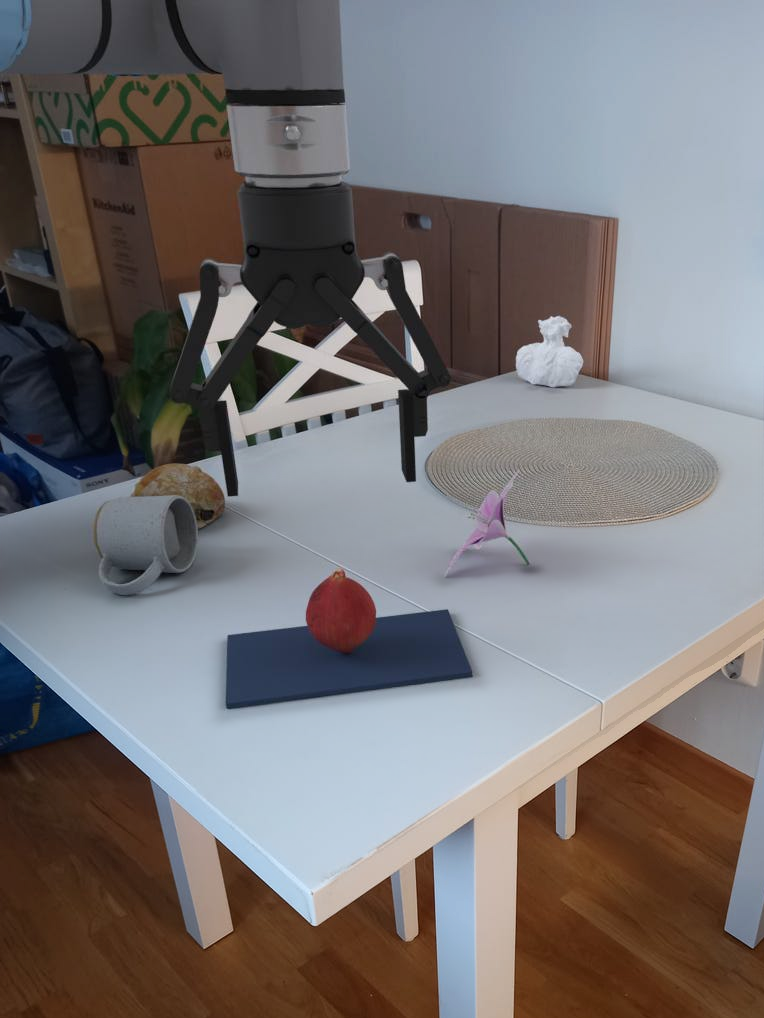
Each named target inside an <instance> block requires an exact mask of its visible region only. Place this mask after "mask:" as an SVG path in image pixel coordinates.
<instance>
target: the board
mask: <svg viewBox="0 0 764 1018" xmlns="http://www.w3.org/2000/svg"><path fill="white" fill-rule="evenodd" d="M226 641H227V642H226V647H227V648H226V673H225V675H226V676H225V708H226V709H234V708H242V707H243V708H244V707H249V706H257V705H258V706H259V705H266V704H272V703H280V702H287V701H289V702H290V701H296V700H303V699H310V698H318V697H327V696H333V695H341V694H348V693H356V692H357V693H358V692H363V691H373V690H378V689H379V690H380V689H386V688H394V687H401V686H402V687H403V686H410V685H417V684H425V683H432V682H441V681H447V680H456V679H464V678H469V677H473V672H474V671H473V668H472V666H471V664H470V662H469V659H468V657H467V655H466V652H465V649H464V647H463V643H462V642H461V639H460V636H459V634H458V631H457V629H456V627H455V624H454V622H453V619H452V615H451V614H450V610H449V609H448V608H445V609H439V610H438V609H437V610H429V611H420V612H412V613H411V612H410V613H403V614H395V615H387V616H386V615H385V616H379V617H378V616H376V622H375V627H374V629H373V632H372V634H371V635H370V636H369V637H368V638H367V639H366V640H365V641H364V642H363V643H362V644H361V645H359V646H358V647H356V648H355V649H354V650H353V651H352V652H351V653H348V654H343V653H340V652H338V651H335V650H333V649H330V648H328V647H325V646H324V645H322V644H320V643H319V642H318V641H317V640H316V639H315V638H314V637H313V636H312V634H311V632H310V631H309V629H308V626H307V625H301V626H293V627H292V626H291V627H283V628H275V629H268V630H267V629H266V630H259V631H252V632H251V631H249V632H244V633H243V632H241V633H234V634H227V639H226Z"/></svg>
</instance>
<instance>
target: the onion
mask: <svg viewBox="0 0 764 1018" xmlns="http://www.w3.org/2000/svg"><path fill="white" fill-rule="evenodd" d="M310 594H311V595H310V596H309V599H308V602H307V606H306V610H305V622H306V626H308V629H309V631H310V632H311V634H312V636H313V637H314V638H315V639H316V640H317V641H318V642H319V643H320V644H322V645H324V646H325V647H328V648H330V649H333V650H335V651H338V652H340V653H343V654H348V653H351V652H352V651H353V650H354V649H355V648H356V647H358V646H359V645H361V644H362V643H363V642H364V641H365V640H366V639H367V638H368V637H369V636H370V635H371V634H372V632H373V629H374V627H375V622H376V618H377V608H376V605H375V602H374V600H373V598H372V595H370V593H369V592H368V591H367V589H366V588H365V587H364V586H363V585H362V584H361V583H359V582H357V581H355V580H354V579H353V578H350V577H348V576H347V575H346V571H345V570H344V568H336V569H335V570H334V571H333V572H332V574H331V575H329V576H328V577H327V578H325V579H324V580H323V581H321V582H320V583H319V584H318V585H317V586H316V587H315V588H314V590H313V591H312V593H310Z"/></svg>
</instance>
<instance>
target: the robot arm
mask: <svg viewBox="0 0 764 1018" xmlns="http://www.w3.org/2000/svg"><path fill="white" fill-rule="evenodd" d="M340 4H341V3H340V0H0V75H54V74H55V75H61V74H63V75H109V76H113V77H132V78H141V77H145V76H148V75H149V76H151V75H152V76H153V75H155V76H156V75H157V76H159V75H161V76H165V75H167V76H169V75H170V76H171V75H192V74H194V75H195V74H198V75H199V74H210V75H221V76H222V82H223V83H222V84H223V88H224V90H225V92H224V93H225V100H226V102H225V103H226V112H227V120H228V129H229V135H230V143H231V150H232V157H233V167H234V171H235V173H236V174H237V175H239V176H241V177H244V180H243V183H242V184H240V186H239V189H237V191H236V192H237V193H236V194H237V201H238V209H239V219H240V225H241V233H242V243H243V250H244V251H243V252H244V255H243V259H242V262H241V263H240V264H236V263H227V262H226V263H225V262H218V261H217V260H216V259H214V258H212V257H211V258H210V257H207V258H204V259H203V260H202V262H201V264H200V269H199V289H200V291H199V295H200V297H199V300H198V303H197V306H196V309H195V312H194V313H193V319H192V320H191V322H190V323H191V324H190V327H189V329H188V332H187V335H186V339H185V341H184V345H183V347H182V351H181V354H180V356H179V360H178V362H177V365H176V369H175V371H174V375H173V377H172V381H171V384H170V388H169V391H168V392H169V393H168V396H169V399H170V400H171V401H172V403H175V404H179V405H180V404H185V405H189V406H192V407H194V408H195V409H196V411H197V412H198V414H199V421H200V426H201V427H200V428H201V434H202V439H203V446H204V447H205V449H206V451H207V453H210V452H220V454H221V461H222V467H223V475H224V482H225V489H226V495H227V497H239V479H238V471H237V465H236V458H235V453H234V452H235V450H234V444H233V437H232V431H231V423H230V415H229V410H228V402H227V400H226V399H225V400H220V399H221V397H222V396H223V394H224V392H225V391H226V390H227V388H228V387H229V385H230V384H231V383H232V381H233V379H234V378H235V377H236V375H237V374H238V372H239V371H240V369H241V368H242V367H243V365H244V364H245V362H246V360H248V358H249V356H250V355H251V353H252V352H253V351H254V349H255V348H256V347H257V345H258V343H259V342H260V340H261V339H262V338H263V337H265V335H266V334H267V332H268V331H269V330H270V328H271V327H272V325H273V324H274V323H276V324H277V325H278V326H282V327H284V328H285V329H286V330H292V329H293V330H294V329H295V330H296V329H299V328H303V327H306V326H312V327H317V328H331V326H332V325H334V324H335V323H337V322H338V321H339V320H340V319H342V321H344V323H346V325H347V326H348V327H349V328H350V329H351V331H353V332H354V333H355V334H356V335H357V336H358V337H359V338H360V339H361V340H362V341H363V342H364V343H365V344H366V346H368V348H370V349H371V350H372V352H373V353H374V355H376V356H377V357H378V358H379V360H381V361H382V363H383V364H384V365H385V366H386V367H387V368H388V369H389V370H390V372H392V373H393V375H394V376H396V378H397V379H398V380H400V382H401V383H402V384H403V385H404V386H405V387H406V389H404V388H403V389H397V397H398V398H397V399H398V400H397V401H398V418H399V436H400V437H399V442H400V458H401V459H400V462H401V463H400V464H401V466H400V467H401V472H402V475H403V477H404V480H405V482H406V483H415V482H417V471H416V470H417V469H416V447H415V446H416V445H415V444H416V443H415V442H416V441H415V438H420V437H426V436H427V433H428V431H429V425H428V424H429V423H428V421H429V420H428V419H429V418H428V397H429V396H430V393H431V392H432V391H434V390H436V389H438V388H446V387H448V386H449V385H450V383H452V382H451V381H452V376H451V374H450V372H449V369H448V368H447V366H446V364H445V363H444V360H443V358H442V356H441V355H440V352H439V351H438V349H437V347H436V345H435V343H434V341H433V339H432V337H431V335H430V334H429V331H428V329H427V328H426V326H425V323H424V322H423V320H422V318H421V316H420V314H419V312H418V310H417V308H416V306H415V304H414V303H413V301H412V299H411V297H410V295H409V293H408V291H407V287H406V286H407V285H406V280H405V273H404V266H403V263H402V261H401V259H400V258H399V257H398V256H397V255H396V253H394V252H393V251H387V252H384V253H383V254H382V255H381V256H380V257H373V258H368V259H361V258H360V257H359V254H358V251H357V247H356V246H357V245H356V233H355V218H354V217H355V216H354V199H353V189H352V187H350V185H349V184H348V183H347V182H345V181H343V176H344V175H347V174H348V173H349V171H350V170H351V160H350V159H351V158H350V143H349V129H348V116H347V115H348V114H347V104H346V94H345V88H344V85H345V84H344V67H343V49H342V48H343V47H342V45H343V44H342V29H341V27H342V26H341V11H340V10H341V9H340V7H341V6H340ZM365 278H369V279H371V280H372V281H373V283H374V285H375V286H376V288H377V289H378V290H380V291H386V293H387V295H388V297H389V299H390V301H391V303H392V305H393V306H394V308H395V311H396V312H397V314H398V316H399V318H400V319H401V322H402V323H403V326H404V327H405V329H406V331H407V333H408V335H409V336H410V338H411V340H412V342H413V344H414V346H415V348H416V350H417V351H418V353H419V355H420V357H421V359H422V361H423V363H424V365H425V367H426V369H424V370H421V371H419V372H418V371H417V370H416V368H415V367H414V366H413V365H412V364H411V363H410V362H409V360H408V359H406V357H404V355H403V354H402V353H401V352H400V351H399V350H398V349H397V347H396V346H395V345H394V344H393V343H392V342H391V341H390V340H389V339H388V338H387V337H386V336H385V334H384V333H383V332H382V331H381V330H380V329H379V327H378V326H377V325H376V324H375V323H374V322H373V321H372V320H371V319H370V318H369V317H368V315H366V314H365V312H364V311H363V310H362V308H361V307H360V306H358V304H357V303H356V302H355V301H354V300H353V298H354V297H355V296H356V293H357V292H358V290H359V289H360V287H361V285H362V284H363V282H364V279H365ZM238 283H241V284H242V286H243V287H244V288H245V289H246V291H247V292H248V293H249V294H250V295H251V296H252V298H253V299H254V300H255V301H256V303H255V305H254V306H253V307H252V309H251V311H250V312H249V313H248V315H247V317H246V319H245V321H244V322H243V323H242V325H241V327H240V328H239V330H238V331H237V333H236V334H235V335H234V337H233V339H232V340H231V342H229V344H228V346H227V347H226V349H225V350H224V351H223V353H222V355H221V356H220V357H219V359H218V360H217V362H216V363H215V365H214V366H213V367H212V369H211V370H210V372H209V374H208V375H207V376H206V377H205V379H204V381H203V382H202V384H198V383H195V382H193V381H194V378H195V375H196V372H197V369H198V367H199V363H200V360H201V357H202V355H203V352H204V348H205V346H206V344H207V339H208V337H209V334H210V332H211V329H212V327H213V326H212V325H213V323H214V320H215V317H216V314H217V311H218V307H219V301H220V298H226V297H228V296H229V295H230V294H231V292H232V288H233V286H234V285H235V284H238Z"/></svg>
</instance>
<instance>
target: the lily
mask: <svg viewBox="0 0 764 1018" xmlns="http://www.w3.org/2000/svg"><path fill="white" fill-rule="evenodd" d="M520 471H521V469H519V470H518V471H517V472H516V473H515V474H514V475H513V476H512V478H511V479H510V480H509V482H507V484H506V485H505V486H504V488H503V490H502V491H501V493H500V495H499V494H498V493H497V491H495V489H491V490H490V491H489V493H488V494H487V495H486V497H485V498H484V500H483V501H482V503H481V505H480V507H479V509H478V510H475V511H474V513H476V514H474V513H472V512H471V513H470V515H471V516H467V518H468V519H473V520H475V526H476V527H474V529H473V530H472V532H470V534H469V535H468V537H467V539H466V540H465V541H464V543H463V545H462V546H461V547H460V548H459V549H458V550H457V552H456V553H455V554H454V556H453V558H452V560H451V561H450V563H449V565H448V567H447V569H446V571H445V574H444V577H446V576H447V575H448V573H449V572H450V570H451V568H452V567H453V565H454V564H455V563H456V561H457V560H458V558H459V557H460V556H461V555H462V553H464V551H465V550H466V549H468V547H470V546H472V545H473V548H474V549H475V550H479V549H481V546H482V545H483V543H486V542H489V541H494V540H497V539H499V538H506V539H507V540H508V541H509V542H510V543H511V544H512V545H513V546H514V548H515V549H516V550H517V551H518V553H519V554H520V555H521V557H522V558H523V561H524V562H525V564H526V565H527V566H529V565H530V564H531V563H530V561H529V559H528V558H527V556H526V555H525V554H524V552H523V550H522V549H521V548H520V546H519V545H518V544H517V543H516V542H515V540H514V539H513V538H512V537H511V536H510V535H509V534H508V532H507V530H506V524H505V522H506V521H505V500H506V497H507V494H508V492H509V491H510V490H511V489H512V487H513V486H514V481H515V479H516V477H517V475H518V474H519V472H520Z"/></svg>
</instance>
